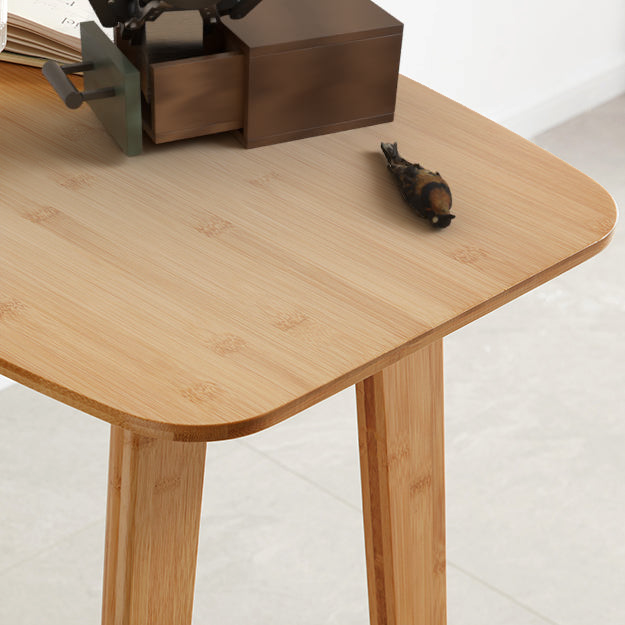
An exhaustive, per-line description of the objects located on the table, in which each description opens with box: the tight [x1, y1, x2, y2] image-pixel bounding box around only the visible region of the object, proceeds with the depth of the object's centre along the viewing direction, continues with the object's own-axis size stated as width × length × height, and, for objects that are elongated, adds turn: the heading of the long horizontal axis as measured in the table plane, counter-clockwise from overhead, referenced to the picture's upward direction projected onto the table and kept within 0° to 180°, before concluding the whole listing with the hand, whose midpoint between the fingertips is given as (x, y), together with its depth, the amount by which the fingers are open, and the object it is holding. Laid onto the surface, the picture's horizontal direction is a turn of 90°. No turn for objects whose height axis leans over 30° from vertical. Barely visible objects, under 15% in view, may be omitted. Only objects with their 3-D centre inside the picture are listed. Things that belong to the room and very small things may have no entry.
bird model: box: [379, 141, 456, 229], centre depth 85 cm, size 3×14×3 cm, turn 14°
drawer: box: [41, 20, 246, 158], centre depth 89 cm, size 16×10×7 cm, turn 117°
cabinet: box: [215, 0, 405, 150], centre depth 94 cm, size 14×12×9 cm
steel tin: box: [137, 7, 203, 104], centre depth 88 cm, size 4×4×8 cm
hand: (164, 31), depth 90 cm, fingers closed on steel tin, 4 cm apart
